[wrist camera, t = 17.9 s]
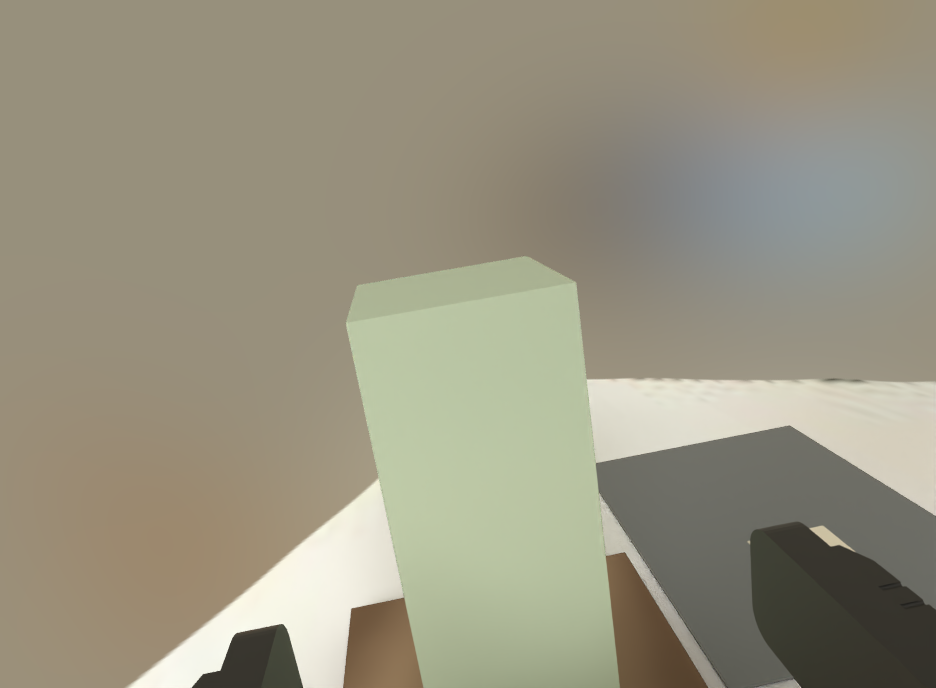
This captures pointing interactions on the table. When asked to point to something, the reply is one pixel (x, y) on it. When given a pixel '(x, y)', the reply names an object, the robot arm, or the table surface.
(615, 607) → the walnut pad
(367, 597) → the table surface
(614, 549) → the table surface
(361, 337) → the sage block
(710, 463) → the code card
